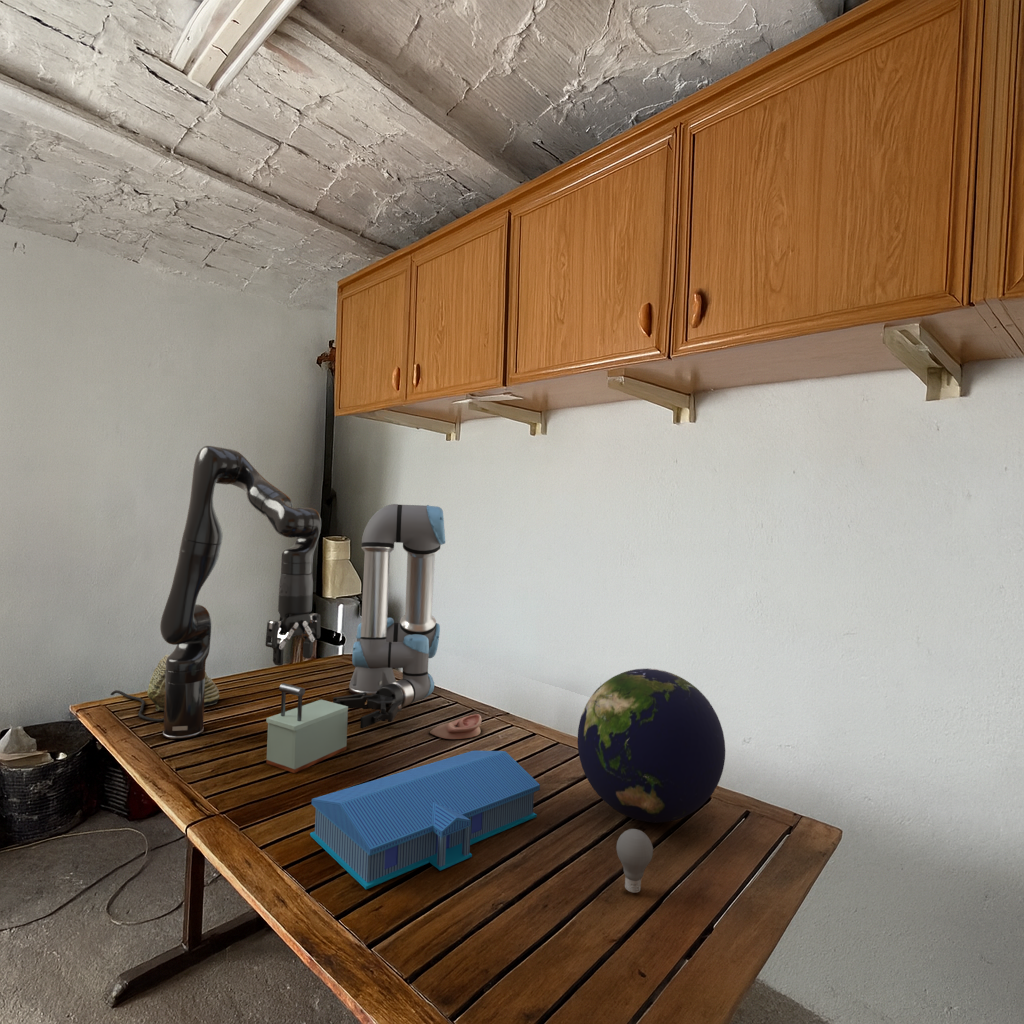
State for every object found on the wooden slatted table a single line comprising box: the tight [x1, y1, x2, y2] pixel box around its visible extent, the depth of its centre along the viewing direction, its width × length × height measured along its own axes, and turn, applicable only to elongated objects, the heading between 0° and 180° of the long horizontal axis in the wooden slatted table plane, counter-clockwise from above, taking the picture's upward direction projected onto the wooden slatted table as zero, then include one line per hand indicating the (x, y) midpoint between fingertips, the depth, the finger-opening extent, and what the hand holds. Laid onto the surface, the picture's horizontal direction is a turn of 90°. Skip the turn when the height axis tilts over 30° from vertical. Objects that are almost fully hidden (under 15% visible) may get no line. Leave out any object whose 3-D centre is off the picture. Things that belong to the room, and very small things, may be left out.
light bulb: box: [615, 828, 654, 894], centre depth 106 cm, size 6×6×10 cm
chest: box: [265, 710, 349, 774], centre depth 154 cm, size 17×9×10 cm, turn 151°
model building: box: [309, 750, 541, 890], centre depth 123 cm, size 39×24×10 cm, turn 132°
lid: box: [265, 682, 349, 731], centre depth 154 cm, size 17×9×9 cm, turn 151°
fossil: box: [147, 654, 221, 712], centre depth 185 cm, size 9×18×15 cm, turn 132°
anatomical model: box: [429, 713, 482, 740], centre depth 174 cm, size 13×4×12 cm
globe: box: [577, 667, 726, 824], centre depth 132 cm, size 30×30×30 cm
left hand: (293, 661), depth 149 cm, fingers open, 8 cm apart
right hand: (341, 717), depth 161 cm, fingers open, 13 cm apart
